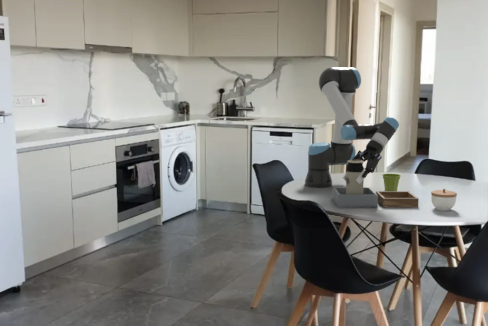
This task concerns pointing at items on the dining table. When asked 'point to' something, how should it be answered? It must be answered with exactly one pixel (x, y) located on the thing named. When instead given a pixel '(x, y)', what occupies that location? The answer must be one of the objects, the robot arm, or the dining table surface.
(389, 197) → the walnut frame
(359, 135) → the robot arm
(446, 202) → the lidded jar
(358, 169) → the travel mug
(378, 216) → the dining table surface
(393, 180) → the plant pot
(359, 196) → the slate bin
